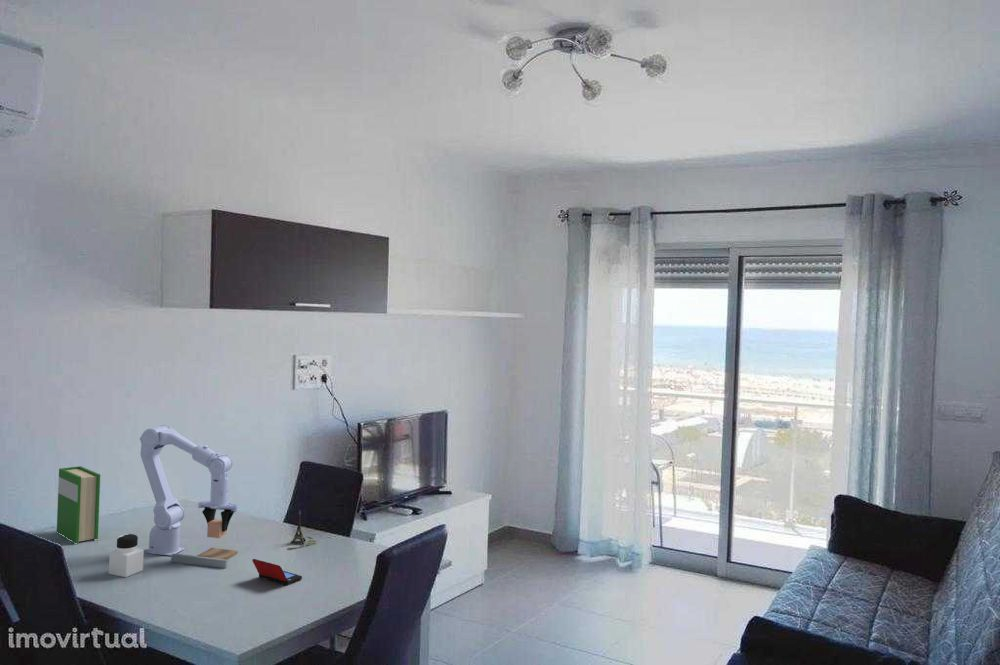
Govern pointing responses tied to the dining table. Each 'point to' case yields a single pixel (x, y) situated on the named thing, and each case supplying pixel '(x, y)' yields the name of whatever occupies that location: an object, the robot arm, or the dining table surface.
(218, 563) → the low wall
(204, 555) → the walnut pad
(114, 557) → the medicine bottle
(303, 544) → the eiffel tower figurine
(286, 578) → the handheld game console
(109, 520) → the dining table surface
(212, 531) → the terracotta block
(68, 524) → the hardback book
